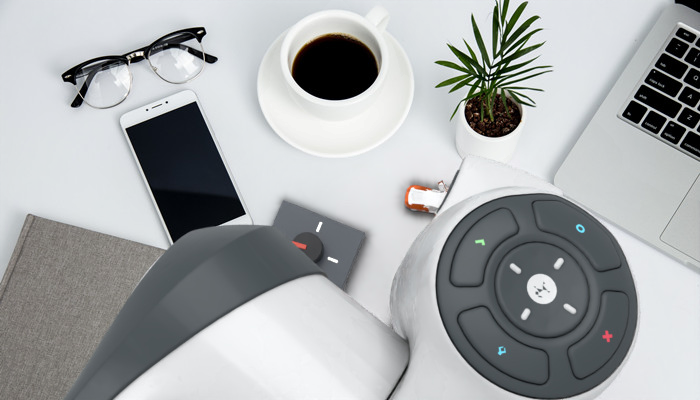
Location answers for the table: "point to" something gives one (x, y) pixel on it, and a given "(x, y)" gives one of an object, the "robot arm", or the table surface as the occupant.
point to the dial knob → (310, 245)
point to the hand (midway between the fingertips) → (439, 307)
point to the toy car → (425, 198)
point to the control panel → (323, 239)
